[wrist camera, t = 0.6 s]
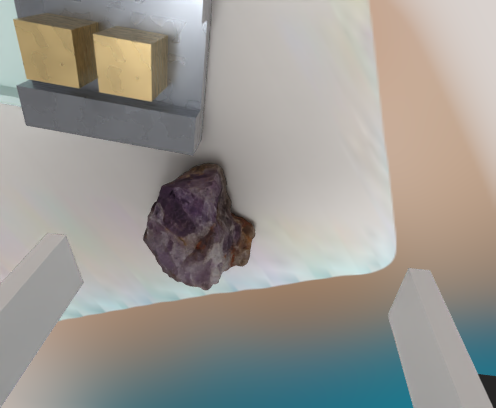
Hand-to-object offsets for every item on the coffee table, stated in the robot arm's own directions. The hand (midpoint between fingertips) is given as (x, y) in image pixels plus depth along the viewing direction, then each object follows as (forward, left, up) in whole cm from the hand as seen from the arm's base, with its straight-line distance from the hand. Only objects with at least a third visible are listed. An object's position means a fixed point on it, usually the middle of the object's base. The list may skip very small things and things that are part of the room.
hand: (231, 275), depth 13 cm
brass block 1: (-16, +2, -19) cm, 25 cm away
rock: (-4, -13, -21) cm, 25 cm away
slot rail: (-13, +2, -21) cm, 24 cm away
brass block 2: (-10, +2, -19) cm, 22 cm away
